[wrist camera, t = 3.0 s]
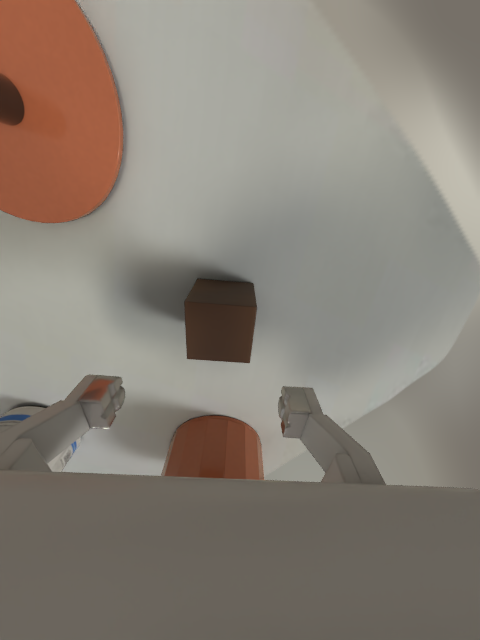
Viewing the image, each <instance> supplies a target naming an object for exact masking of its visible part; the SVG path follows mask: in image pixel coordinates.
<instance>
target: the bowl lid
mask: <svg viewBox="0 0 480 640" xmlns="http://www.w3.org/2000/svg"><path fill="white" fill-rule="evenodd" d="M122 151H123V125H122V114H121V108H120V103H119V98H118V93H117V90H116V86H115V82H114V79H113V75H112V72H111V70H110V67H109V64H108V62H107V59H106V56H105V54H104V51H103V49H102V47H101V45H100V43H99V41H98V39H97V37H96V34H95V32H94V30H93V28H92V27H91V25H90V23H89V22H88V20H87V18H86V16H85V15H84V13H83V11H82V10H81V8H80V6H79V5H78V4H77V2H76V1H75V0H0V210H2V211H4V212H6V213H9V214H11V215H14V216H16V217H19V218H22V219H26V220H30V221H35V222H42V223H60V222H68V221H73V220H76V219H79V218H82V217H84V216H86V215H88V214H89V213H91V212H92V211H94V210H95V209H96V208H97V207H99V206H100V205H101V203H102V202H103V201H104V200H105V199H106V198H107V196H108V195H109V193H110V191H111V190H112V188H113V186H114V183H115V181H116V179H117V176H118V172H119V169H120V165H121V159H122Z"/></svg>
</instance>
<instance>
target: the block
mask: <svg viewBox="0 0 480 640" xmlns="http://www.w3.org/2000/svg"><path fill="white" fill-rule="evenodd" d="M184 305H185V325H186V346H187V359H196V360H211V361H226V362H241V363H250V357H251V349H252V342H253V334H254V326H255V319H256V311H257V304H256V297H255V290H254V284H253V283H246V282H233V281H220V280H208V279H197V280H196V282H195V284H194V286H193V288H192V289H191V291H190V293H189V295H188V296H187V298H186V300H185V302H184Z"/></svg>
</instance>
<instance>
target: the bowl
mask: <svg viewBox="0 0 480 640" xmlns="http://www.w3.org/2000/svg"><path fill="white" fill-rule="evenodd" d="M161 476H175V477H201V478H226V479H251V480H264V474H263V461H262V449H261V443H260V439H259V436H258V434H257V433H256V432H255V430H254V429H253V428H252V427H250V426H249V425H247V424H246V423H244V422H242V421H240V420H237V419H234V418H231V417H226V416H202V417H198V418H194V419H191V420H189V421H187V422H185V423H183V424H182V425H181V426H180V427H179V428H178V429H177V430H176V431H175V433H174V436H173V438H172V440H171V443H170V446H169V450H168V453H167V457H166V460H165V463H164V467H163V470H162V474H161Z"/></svg>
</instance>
